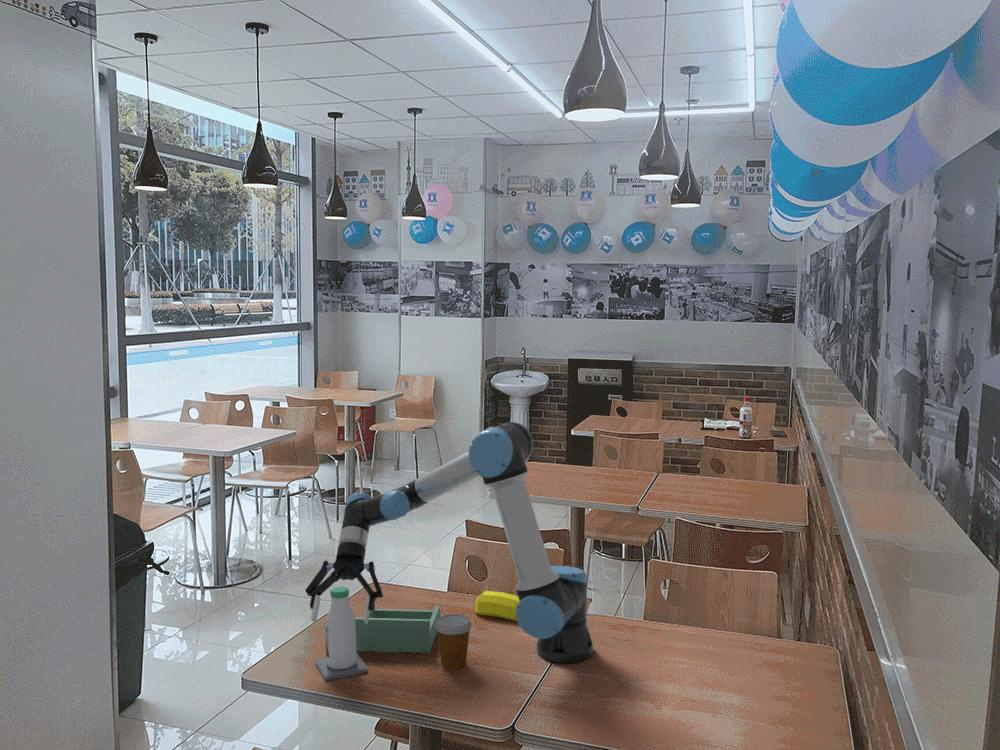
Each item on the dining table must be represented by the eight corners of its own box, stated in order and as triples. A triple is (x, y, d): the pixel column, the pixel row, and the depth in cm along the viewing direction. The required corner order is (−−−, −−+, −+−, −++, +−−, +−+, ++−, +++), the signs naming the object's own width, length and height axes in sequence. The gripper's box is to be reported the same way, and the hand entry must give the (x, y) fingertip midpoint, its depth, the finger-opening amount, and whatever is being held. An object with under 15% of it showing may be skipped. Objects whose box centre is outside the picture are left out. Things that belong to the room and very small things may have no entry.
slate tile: (368, 672, 213) (367, 668, 213) (325, 681, 209) (325, 677, 208) (356, 655, 223) (356, 652, 223) (315, 663, 218) (315, 659, 218)
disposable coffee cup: (455, 676, 211) (455, 630, 210) (428, 666, 217) (427, 621, 216) (479, 662, 219) (479, 618, 217) (451, 653, 224) (451, 610, 223)
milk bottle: (362, 660, 218) (360, 586, 216) (345, 672, 211) (343, 596, 209) (338, 655, 221) (336, 582, 219) (320, 667, 214) (318, 591, 212)
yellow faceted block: (523, 625, 244) (533, 615, 251) (523, 603, 243) (533, 594, 250) (468, 615, 251) (480, 606, 258) (468, 593, 251) (479, 585, 258)
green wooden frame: (372, 621, 246) (371, 592, 245) (440, 623, 245) (440, 593, 244) (355, 651, 226) (354, 619, 225) (429, 653, 224) (429, 621, 223)
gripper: (399, 553, 230) (389, 628, 216) (310, 552, 231) (295, 626, 218) (395, 540, 224) (384, 616, 210) (304, 539, 225) (288, 614, 212)
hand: (339, 621), depth 214 cm, fingers open, 13 cm apart
